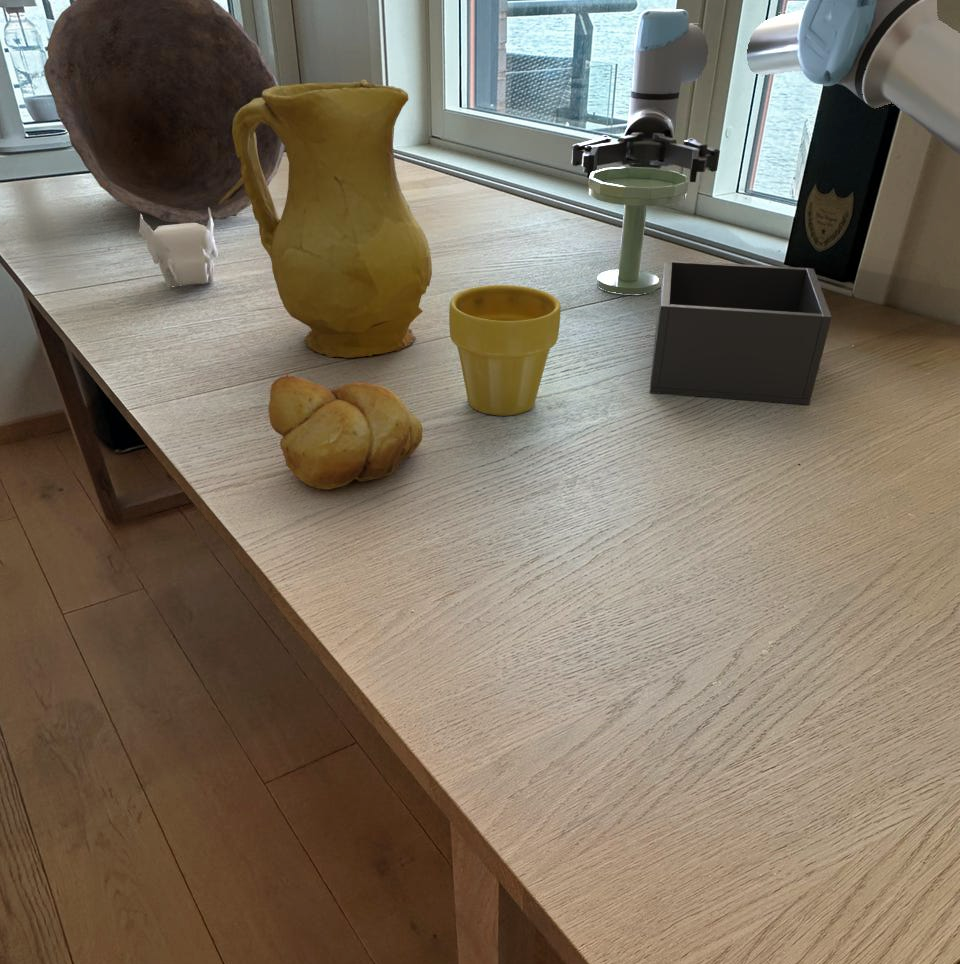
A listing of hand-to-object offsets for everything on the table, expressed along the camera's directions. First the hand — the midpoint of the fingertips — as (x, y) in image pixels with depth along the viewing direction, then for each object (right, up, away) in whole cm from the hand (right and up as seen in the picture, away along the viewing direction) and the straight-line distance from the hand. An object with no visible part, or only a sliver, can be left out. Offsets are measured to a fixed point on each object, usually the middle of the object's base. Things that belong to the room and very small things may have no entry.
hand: (642, 168), depth 113 cm
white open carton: (-60, -15, 0) cm, 62 cm away
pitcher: (-36, -27, -14) cm, 48 cm away
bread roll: (-32, -48, -39) cm, 70 cm away
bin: (+5, -34, -22) cm, 40 cm away
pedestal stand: (-2, -15, 0) cm, 16 cm away
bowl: (-69, +11, +32) cm, 77 cm away
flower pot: (-19, -39, -29) cm, 52 cm away
